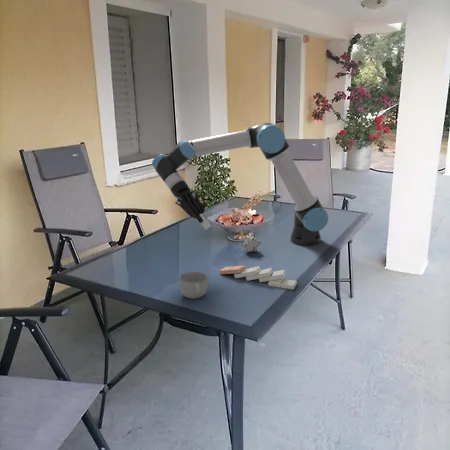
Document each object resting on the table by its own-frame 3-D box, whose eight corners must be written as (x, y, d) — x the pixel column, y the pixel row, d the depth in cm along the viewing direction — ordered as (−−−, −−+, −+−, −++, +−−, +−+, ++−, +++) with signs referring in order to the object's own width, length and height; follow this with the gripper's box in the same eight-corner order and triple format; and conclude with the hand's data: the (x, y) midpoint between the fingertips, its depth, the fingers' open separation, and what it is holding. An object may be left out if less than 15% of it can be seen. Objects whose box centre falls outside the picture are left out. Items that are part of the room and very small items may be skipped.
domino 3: (245, 277, 177) (268, 272, 173) (249, 272, 181) (271, 267, 177) (247, 280, 177) (269, 276, 173) (250, 276, 182) (272, 271, 178)
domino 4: (258, 278, 175) (282, 274, 171) (261, 274, 179) (284, 269, 176) (259, 282, 175) (284, 278, 172) (262, 277, 180) (285, 273, 176)
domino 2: (234, 274, 180) (255, 270, 175) (238, 270, 184) (259, 266, 179) (235, 278, 180) (256, 274, 175) (240, 273, 184) (261, 269, 179)
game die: (254, 260, 208) (259, 248, 200) (237, 253, 209) (241, 241, 201) (259, 246, 214) (264, 234, 206) (243, 239, 215) (247, 227, 207)
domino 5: (268, 282, 172) (293, 285, 168) (272, 277, 176) (296, 280, 172) (268, 286, 172) (293, 289, 168) (272, 281, 177) (296, 284, 173)
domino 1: (219, 270, 184) (238, 269, 178) (226, 266, 188) (244, 265, 182) (220, 274, 184) (239, 273, 178) (227, 270, 188) (245, 269, 182)
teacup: (180, 290, 171) (179, 271, 169) (208, 288, 172) (207, 269, 170) (179, 306, 158) (178, 286, 155) (209, 304, 159) (209, 284, 156)
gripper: (183, 187, 199) (213, 228, 194) (162, 193, 189) (193, 236, 184) (191, 177, 194) (222, 218, 190) (170, 182, 185) (202, 226, 180)
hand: (208, 227), depth 187 cm, fingers closed
